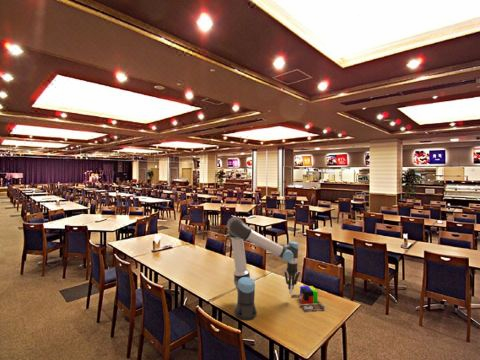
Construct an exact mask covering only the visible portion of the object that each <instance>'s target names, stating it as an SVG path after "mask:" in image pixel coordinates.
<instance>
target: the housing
mask: <svg viewBox="0 0 480 360" xmlns="http://www.w3.org/2000/svg"><path fill="white" fill-rule="evenodd" d="M290 296H291V298H300V293H299V294H297V293H296V294H290ZM307 305H309V306H312V307H313V310H304V306H307ZM299 308H300V310H301V311H302V312H303V313H320V312H327V310H326V309H325V305H324V304H323V303H322V302H321V301H320V300H319V299H317V303H315V304H304V303H300V304H299Z"/></svg>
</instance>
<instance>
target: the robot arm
mask: <svg viewBox="0 0 480 360" xmlns="http://www.w3.org/2000/svg"><path fill="white" fill-rule="evenodd" d="M226 223H227V224H226V228H227V230H228V231H227V232H228V238H230V239H231V248H232V254H233V261H234V269H235V270H234V272H233V283H234V286H235V289H236V291H237V300H236V301H237V303H236V305H235V308H234V316H235V318H236V319H238V320H242V321H251V320H253V319H255V318H257V307H256V304H255V296H256V295H255V293H256V292H255V291H256V283H255V280H254V279H253V278H251V275H250V270H249V269H248V267H247V259H246V251H245V245H244V241H249V242H250V243H252V244H253V245H256V246H258V247H260V248H262V249H264V250H266V251H268V252H270V253H271V254H273V255H275V256H277V257H279V258H281V259H283V261H285V262H287V264H286V265H287V266H286V268H285V271H284V270H283V274H284V281H285V284H286V285H287V286H288V287H287V288H288V293H289V295H293V290H294V288H295V285H297V284H298V279H299V276H300V275H301V272H300V271H299V270H298V260H299V259H298V258H299V256H298V255H299V243H298V242H297V241H289V242H288V243H287V244H282V243H281V244H280V243H279V244H278V243H277V242H275V241H273V240H271V239H269V238H268V237H266V236H264V235H262V234H261V233H258V232H257V231H255V230H253V228H252V227H250V226H249V225H247V224H246V223H245V222H244V221H243V220H242V219H241V218H240V217H236V216H233V217H231V218H229V219H228V221H227V222H226Z"/></svg>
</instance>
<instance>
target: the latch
mask: <svg viewBox="0 0 480 360" xmlns="http://www.w3.org/2000/svg"><path fill="white" fill-rule="evenodd" d="M304 310H313V307H312V306H309V305H307V306H304Z"/></svg>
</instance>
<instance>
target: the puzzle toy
mask: <svg viewBox="0 0 480 360" xmlns="http://www.w3.org/2000/svg"><path fill="white" fill-rule="evenodd" d="M299 294H300V297H299V299H300V300H301V302H302V304H315V303H317V299H318V297H319V295H318V289H317V290H316V288H315V287H314V286H313V285H307V286H306V285H304V286H303V285H302V286H299ZM318 300H319V299H318Z"/></svg>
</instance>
